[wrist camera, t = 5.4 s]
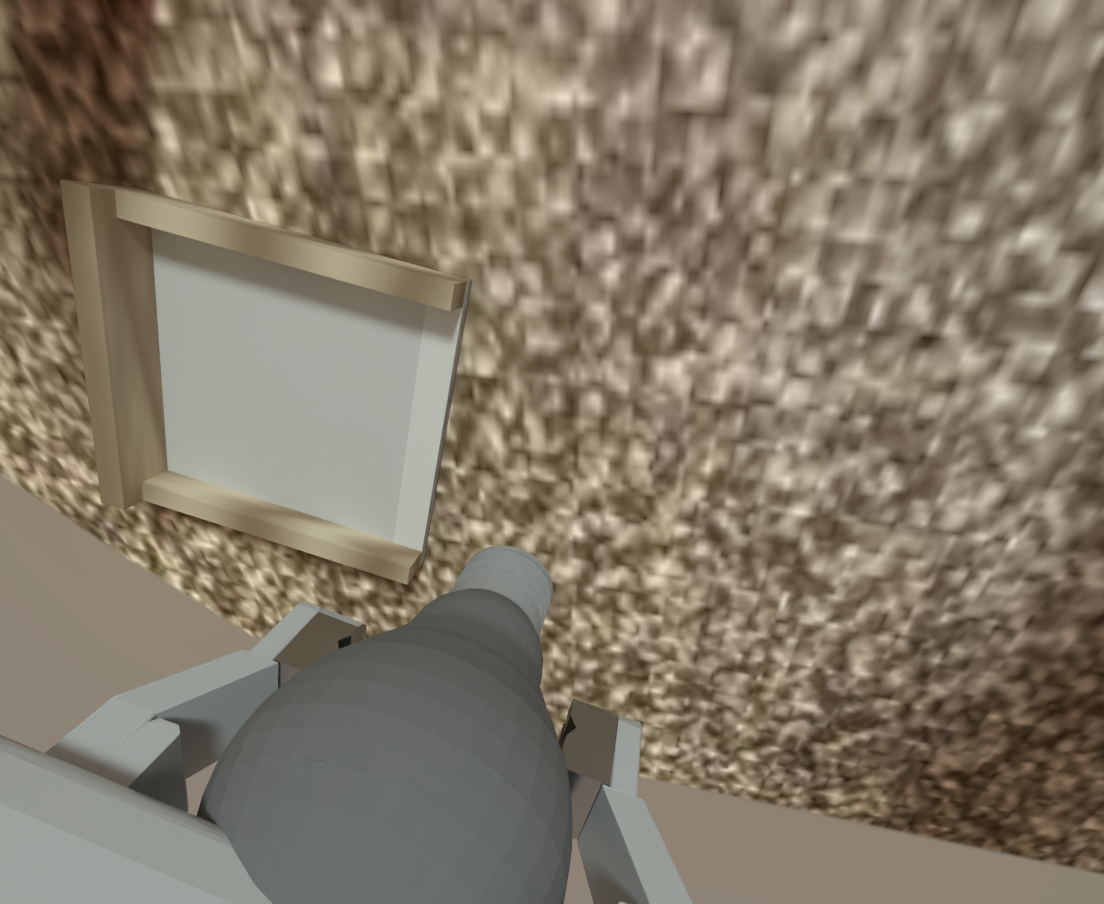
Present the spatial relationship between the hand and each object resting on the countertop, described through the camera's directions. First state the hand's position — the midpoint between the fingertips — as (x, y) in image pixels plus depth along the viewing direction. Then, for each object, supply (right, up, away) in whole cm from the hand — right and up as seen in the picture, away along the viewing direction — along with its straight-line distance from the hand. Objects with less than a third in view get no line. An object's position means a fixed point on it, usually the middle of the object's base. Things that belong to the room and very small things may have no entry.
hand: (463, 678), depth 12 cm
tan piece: (-10, +8, +13) cm, 18 cm away
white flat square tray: (-10, +8, +13) cm, 18 cm away
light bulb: (+1, +2, +4) cm, 4 cm away
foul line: (-4, +6, +12) cm, 14 cm away
